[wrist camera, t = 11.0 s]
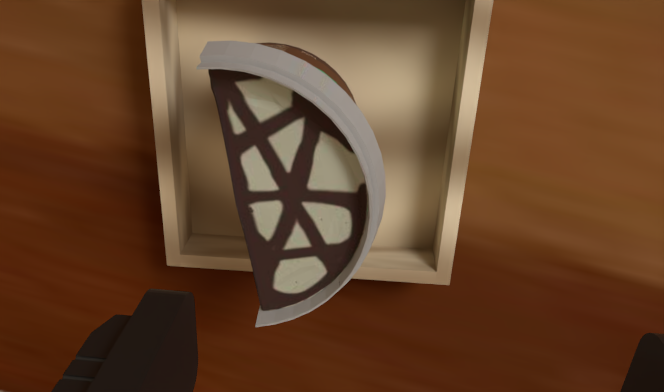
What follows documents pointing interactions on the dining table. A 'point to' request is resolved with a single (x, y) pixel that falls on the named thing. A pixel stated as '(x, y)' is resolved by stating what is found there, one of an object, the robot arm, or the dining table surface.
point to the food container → (296, 171)
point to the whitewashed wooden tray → (370, 96)
